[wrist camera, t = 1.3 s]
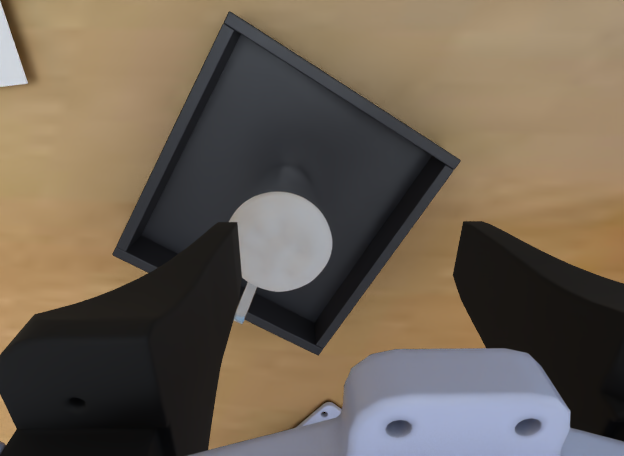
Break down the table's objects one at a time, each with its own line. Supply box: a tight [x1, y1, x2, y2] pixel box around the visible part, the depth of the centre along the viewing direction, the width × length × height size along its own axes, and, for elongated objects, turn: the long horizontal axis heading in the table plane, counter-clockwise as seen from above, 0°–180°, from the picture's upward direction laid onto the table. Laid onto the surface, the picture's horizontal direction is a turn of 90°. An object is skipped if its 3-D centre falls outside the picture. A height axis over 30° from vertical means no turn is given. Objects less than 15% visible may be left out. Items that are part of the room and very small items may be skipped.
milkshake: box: [229, 164, 332, 324], centre depth 21 cm, size 4×5×10 cm
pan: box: [113, 11, 461, 355], centre depth 25 cm, size 15×14×3 cm
